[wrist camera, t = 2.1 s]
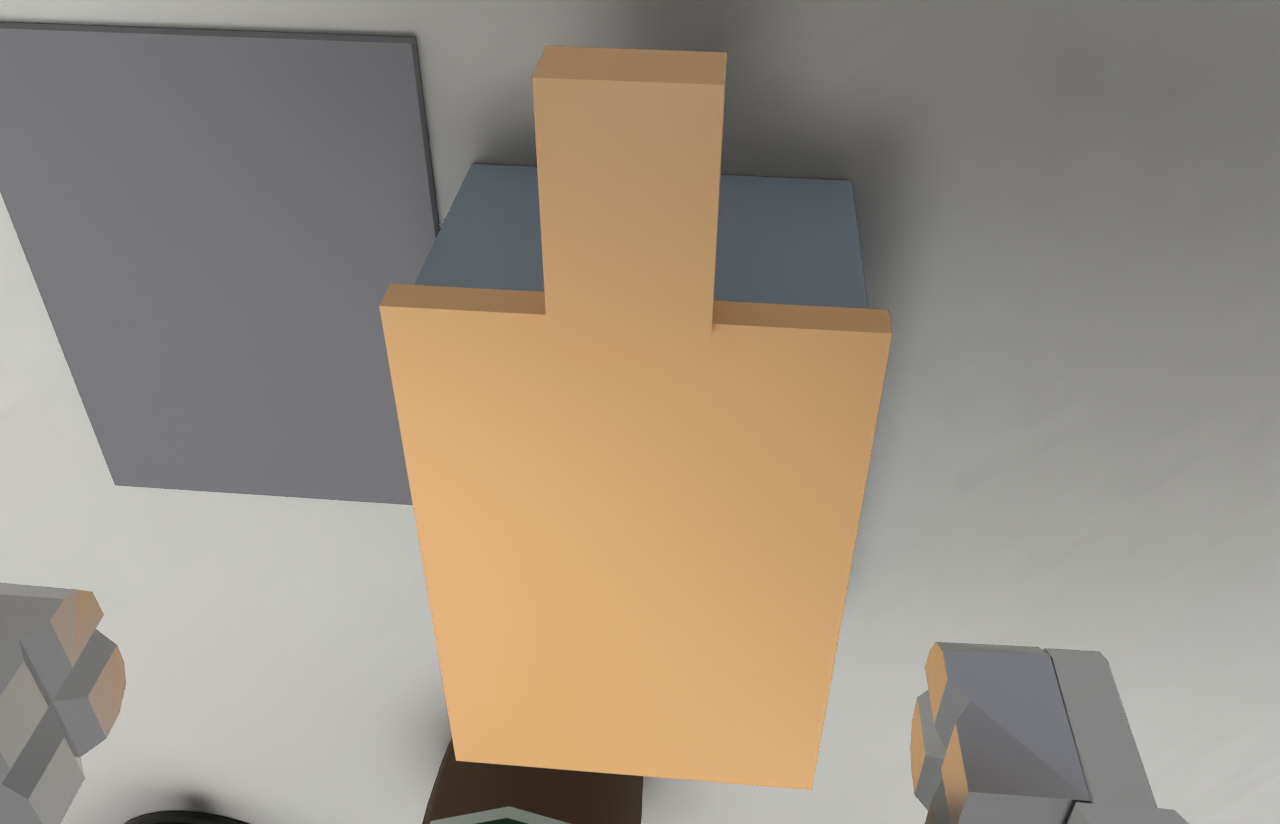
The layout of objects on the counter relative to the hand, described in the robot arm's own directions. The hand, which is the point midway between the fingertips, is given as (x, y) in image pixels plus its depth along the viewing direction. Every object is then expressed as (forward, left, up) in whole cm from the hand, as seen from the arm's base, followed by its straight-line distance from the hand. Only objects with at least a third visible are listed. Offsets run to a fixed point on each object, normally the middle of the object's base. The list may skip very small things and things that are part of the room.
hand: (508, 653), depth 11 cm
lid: (0, +8, -11) cm, 14 cm away
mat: (+11, +7, -17) cm, 21 cm away
